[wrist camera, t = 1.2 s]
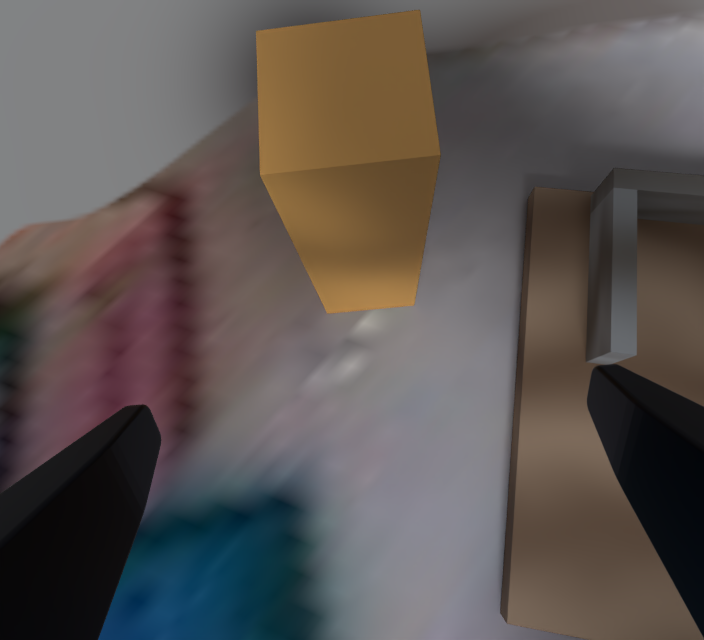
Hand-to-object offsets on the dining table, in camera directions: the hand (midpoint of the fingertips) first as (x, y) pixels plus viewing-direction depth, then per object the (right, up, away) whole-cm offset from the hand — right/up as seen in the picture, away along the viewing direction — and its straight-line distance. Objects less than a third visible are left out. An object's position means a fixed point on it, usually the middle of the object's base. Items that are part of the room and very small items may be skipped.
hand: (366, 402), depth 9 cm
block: (0, +4, +15) cm, 16 cm away
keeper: (+15, -2, +12) cm, 20 cm away
